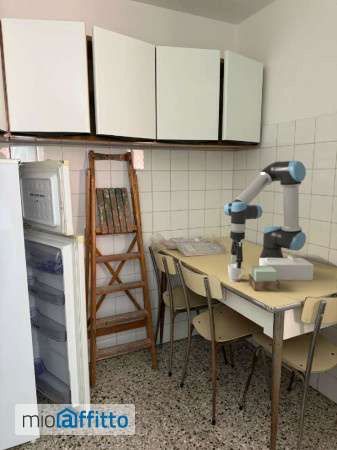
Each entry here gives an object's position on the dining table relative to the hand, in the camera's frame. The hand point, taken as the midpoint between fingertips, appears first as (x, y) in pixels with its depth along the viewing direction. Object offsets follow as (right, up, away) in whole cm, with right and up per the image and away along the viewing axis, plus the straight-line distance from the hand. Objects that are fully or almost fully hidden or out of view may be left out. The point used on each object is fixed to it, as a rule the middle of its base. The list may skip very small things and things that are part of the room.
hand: (235, 270), depth 166 cm
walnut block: (+12, -8, -9) cm, 17 cm away
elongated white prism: (+30, -5, +9) cm, 31 cm away
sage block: (+12, -3, -10) cm, 16 cm away
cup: (0, -6, +1) cm, 6 cm away
